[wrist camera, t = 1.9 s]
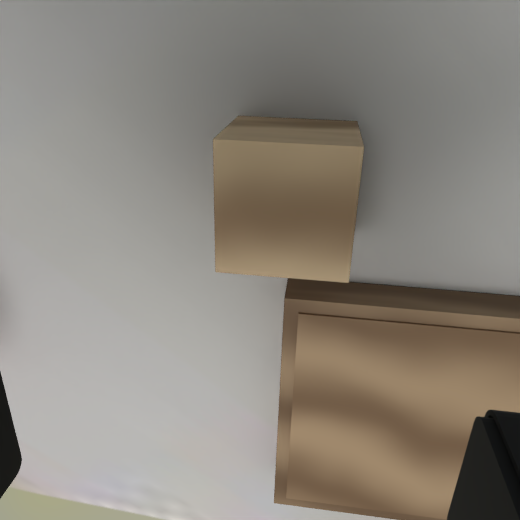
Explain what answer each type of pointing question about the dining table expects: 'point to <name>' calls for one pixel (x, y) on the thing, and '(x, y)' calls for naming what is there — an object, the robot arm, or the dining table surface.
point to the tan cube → (286, 197)
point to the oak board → (388, 393)
